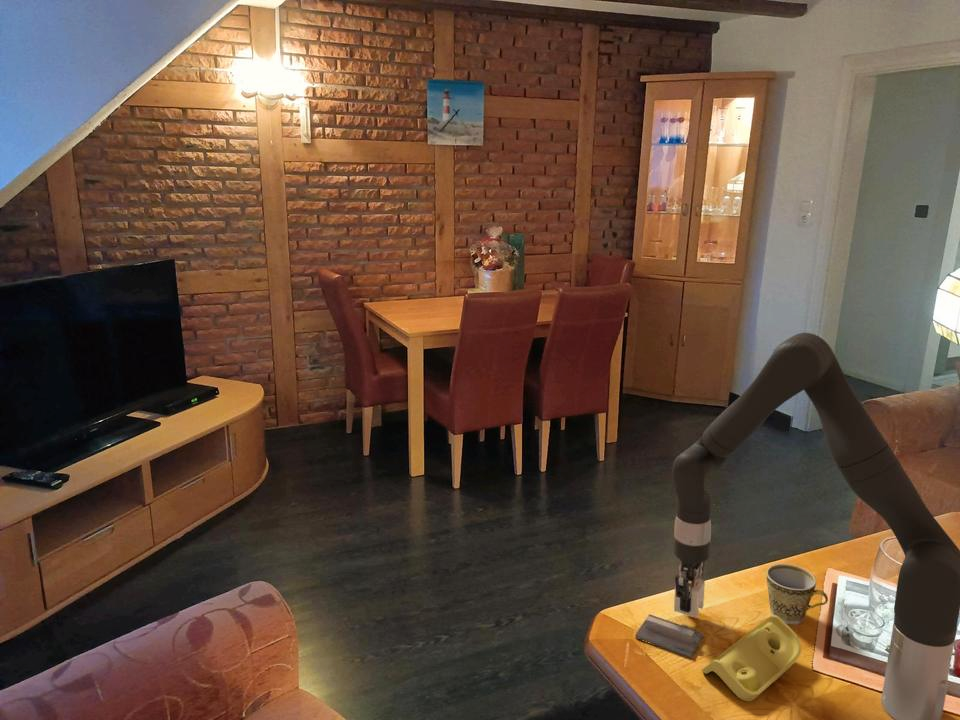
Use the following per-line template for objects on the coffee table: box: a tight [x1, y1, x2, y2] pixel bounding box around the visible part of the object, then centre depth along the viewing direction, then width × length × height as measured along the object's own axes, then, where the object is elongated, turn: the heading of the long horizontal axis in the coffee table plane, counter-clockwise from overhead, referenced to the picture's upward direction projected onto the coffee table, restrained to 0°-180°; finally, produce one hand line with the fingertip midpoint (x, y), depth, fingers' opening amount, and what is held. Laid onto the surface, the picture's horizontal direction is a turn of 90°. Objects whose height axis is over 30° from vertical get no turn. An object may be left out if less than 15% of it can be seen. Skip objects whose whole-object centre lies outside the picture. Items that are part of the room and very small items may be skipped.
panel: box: [635, 614, 704, 659], centre depth 148 cm, size 12×8×3 cm, turn 56°
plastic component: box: [701, 614, 802, 702], centre depth 138 cm, size 20×7×10 cm
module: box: [673, 579, 706, 619], centre depth 153 cm, size 5×5×7 cm
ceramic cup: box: [766, 563, 829, 626], centre depth 152 cm, size 13×10×10 cm
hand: (689, 603), depth 153 cm, fingers closed on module, 4 cm apart
